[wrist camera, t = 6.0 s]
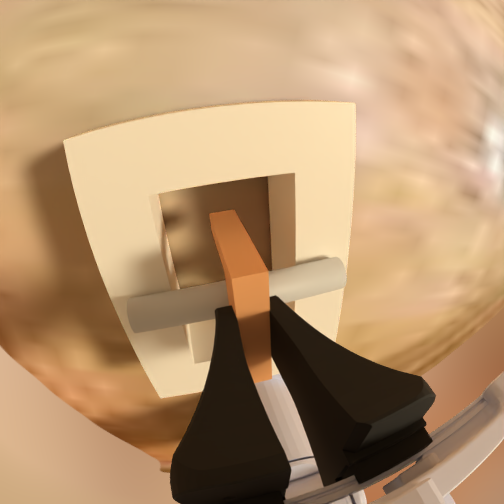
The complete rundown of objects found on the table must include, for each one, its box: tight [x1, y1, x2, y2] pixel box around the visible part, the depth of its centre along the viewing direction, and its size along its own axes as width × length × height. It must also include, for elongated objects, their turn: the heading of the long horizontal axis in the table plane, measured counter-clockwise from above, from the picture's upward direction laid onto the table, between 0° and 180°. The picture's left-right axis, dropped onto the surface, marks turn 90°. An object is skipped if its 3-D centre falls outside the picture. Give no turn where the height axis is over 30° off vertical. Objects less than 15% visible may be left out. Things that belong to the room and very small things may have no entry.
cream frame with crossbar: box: [63, 100, 356, 398], centre depth 15 cm, size 16×12×6 cm
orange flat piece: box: [209, 209, 272, 383], centre depth 13 cm, size 6×1×6 cm, turn 4°
